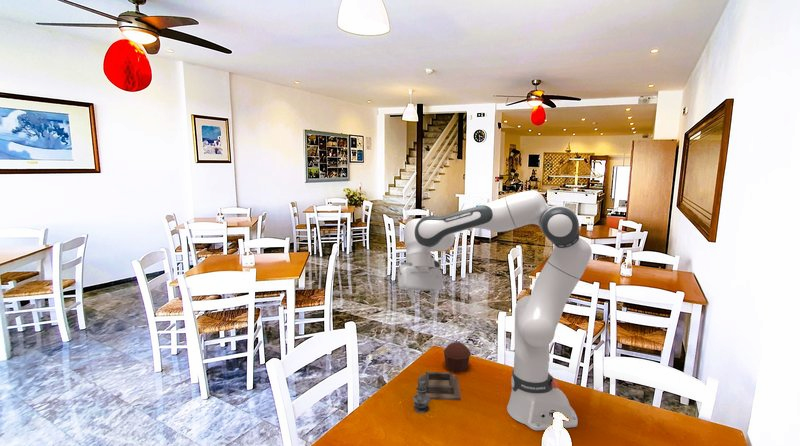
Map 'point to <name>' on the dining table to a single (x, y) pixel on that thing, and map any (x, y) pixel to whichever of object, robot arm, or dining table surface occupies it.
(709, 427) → the dining table surface
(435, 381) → the walnut board
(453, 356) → the muffin
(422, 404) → the grey chess piece
